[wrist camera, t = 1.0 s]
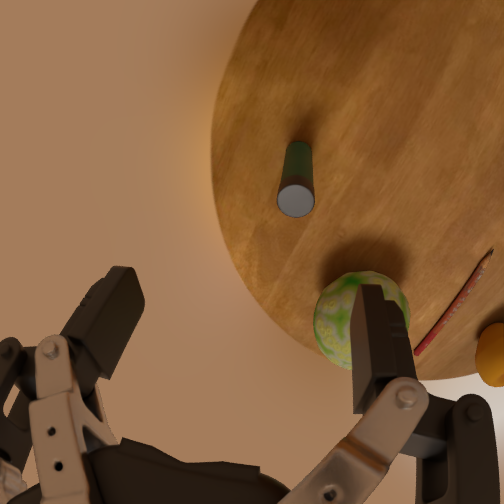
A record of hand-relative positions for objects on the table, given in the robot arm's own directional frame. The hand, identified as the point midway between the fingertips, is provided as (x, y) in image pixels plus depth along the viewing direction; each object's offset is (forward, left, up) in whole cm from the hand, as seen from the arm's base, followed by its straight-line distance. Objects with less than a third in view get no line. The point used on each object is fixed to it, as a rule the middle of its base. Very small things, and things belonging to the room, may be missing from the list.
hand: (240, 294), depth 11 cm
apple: (+38, +12, -19) cm, 44 cm away
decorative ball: (+18, -2, -19) cm, 26 cm away
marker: (+2, +1, -18) cm, 19 cm away
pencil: (+28, +7, -19) cm, 34 cm away
